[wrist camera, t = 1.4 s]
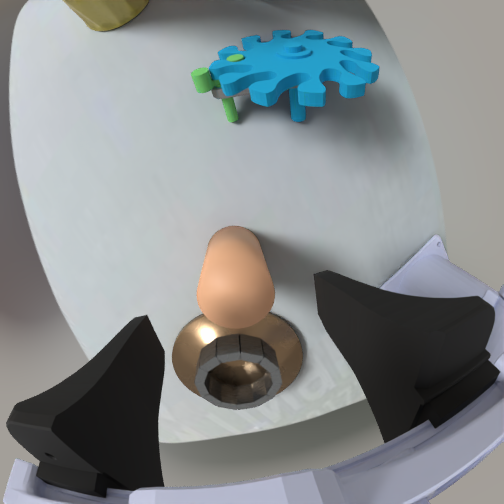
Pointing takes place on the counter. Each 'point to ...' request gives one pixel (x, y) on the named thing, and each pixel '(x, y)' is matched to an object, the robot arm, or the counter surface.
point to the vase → (106, 12)
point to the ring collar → (237, 361)
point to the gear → (287, 71)
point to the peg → (235, 280)
